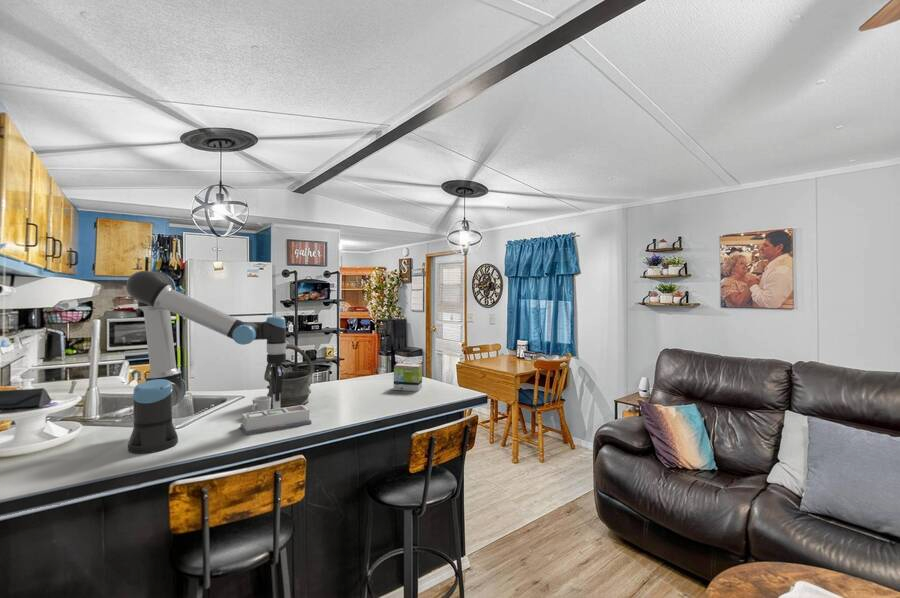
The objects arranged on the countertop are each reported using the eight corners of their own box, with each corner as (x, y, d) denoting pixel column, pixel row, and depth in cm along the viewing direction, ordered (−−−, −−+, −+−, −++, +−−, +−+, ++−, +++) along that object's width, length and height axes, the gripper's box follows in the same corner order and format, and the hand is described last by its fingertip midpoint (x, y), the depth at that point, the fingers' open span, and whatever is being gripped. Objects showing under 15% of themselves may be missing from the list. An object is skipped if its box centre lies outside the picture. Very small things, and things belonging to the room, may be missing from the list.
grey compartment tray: (245, 435, 169) (245, 420, 169) (240, 427, 179) (240, 413, 178) (311, 423, 184) (311, 410, 184) (303, 416, 194) (303, 404, 193)
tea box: (393, 390, 246) (393, 365, 246) (398, 386, 256) (398, 362, 256) (418, 391, 244) (418, 366, 244) (422, 387, 254) (422, 363, 254)
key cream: (250, 422, 173) (250, 417, 173) (248, 419, 177) (248, 414, 177) (263, 420, 176) (263, 415, 176) (261, 417, 180) (261, 413, 180)
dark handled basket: (274, 397, 228) (274, 342, 227) (318, 397, 228) (318, 342, 228) (257, 409, 206) (256, 347, 205) (305, 409, 206) (305, 347, 206)
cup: (260, 420, 188) (260, 402, 188) (244, 419, 190) (244, 401, 189) (274, 413, 199) (274, 396, 198) (259, 412, 200) (259, 395, 200)
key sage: (271, 419, 178) (271, 414, 178) (268, 416, 182) (268, 411, 182) (284, 417, 180) (284, 412, 180) (281, 414, 185) (281, 410, 185)
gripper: (289, 354, 177) (289, 410, 178) (281, 350, 188) (282, 403, 189) (270, 355, 173) (270, 413, 174) (263, 352, 184) (263, 406, 184)
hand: (276, 408), depth 181 cm, fingers closed
